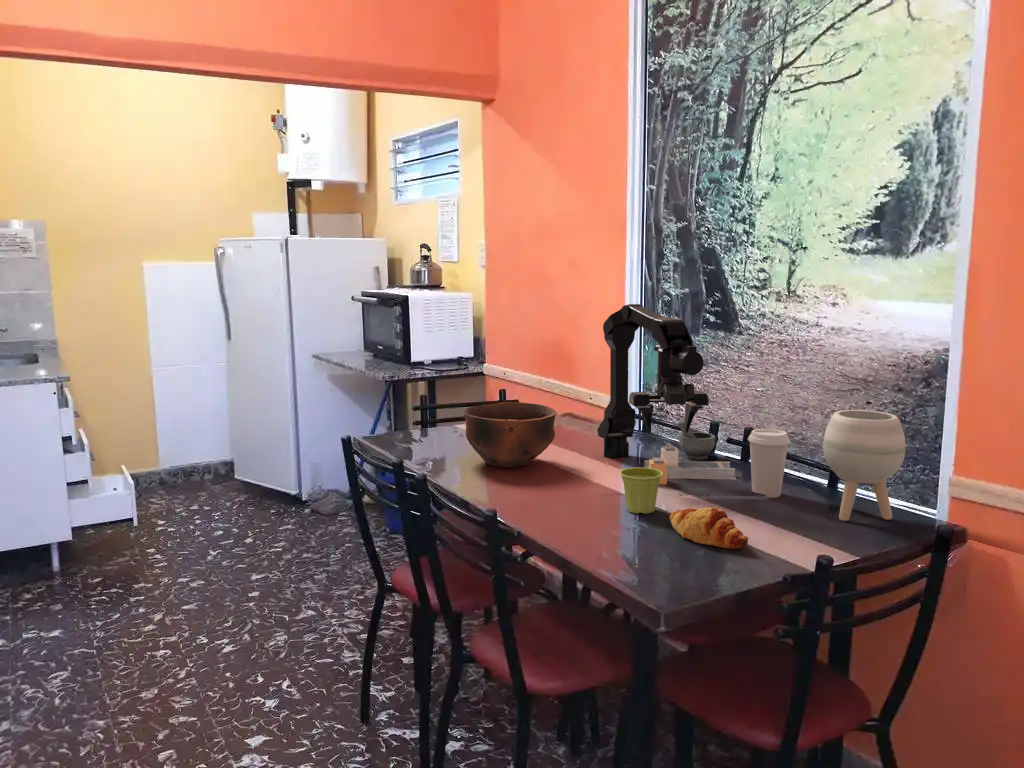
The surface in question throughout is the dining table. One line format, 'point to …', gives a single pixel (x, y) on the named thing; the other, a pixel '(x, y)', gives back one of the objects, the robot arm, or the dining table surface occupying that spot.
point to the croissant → (708, 527)
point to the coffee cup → (768, 461)
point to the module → (659, 468)
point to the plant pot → (641, 488)
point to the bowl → (509, 431)
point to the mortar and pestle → (695, 442)
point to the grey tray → (700, 470)
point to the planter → (864, 453)
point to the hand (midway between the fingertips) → (667, 432)
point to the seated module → (670, 455)
